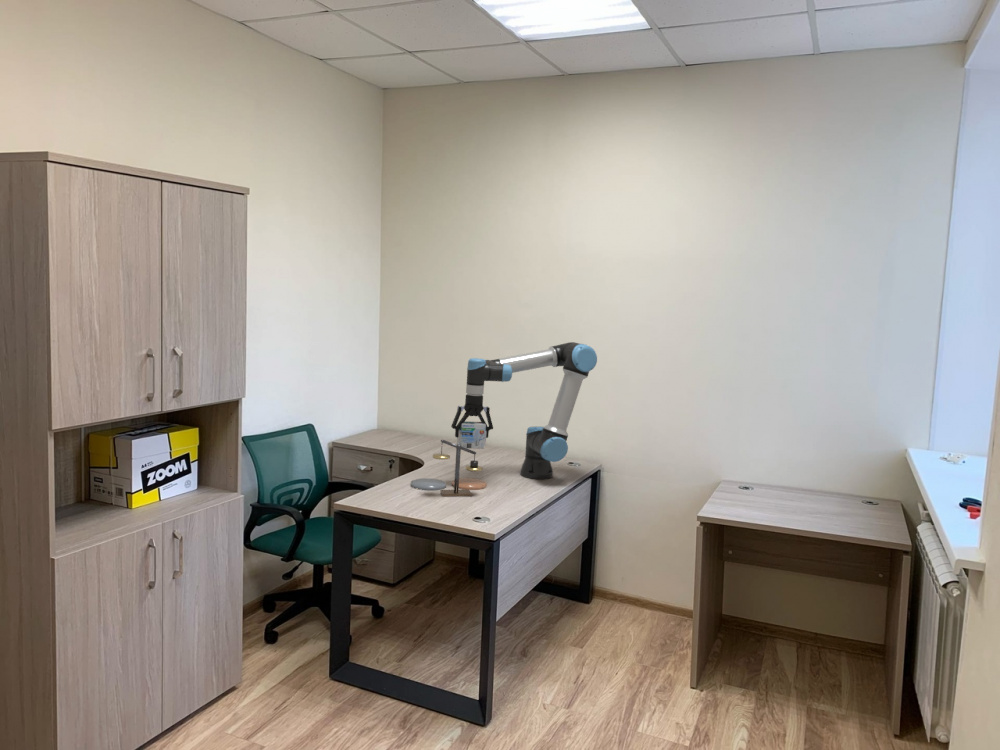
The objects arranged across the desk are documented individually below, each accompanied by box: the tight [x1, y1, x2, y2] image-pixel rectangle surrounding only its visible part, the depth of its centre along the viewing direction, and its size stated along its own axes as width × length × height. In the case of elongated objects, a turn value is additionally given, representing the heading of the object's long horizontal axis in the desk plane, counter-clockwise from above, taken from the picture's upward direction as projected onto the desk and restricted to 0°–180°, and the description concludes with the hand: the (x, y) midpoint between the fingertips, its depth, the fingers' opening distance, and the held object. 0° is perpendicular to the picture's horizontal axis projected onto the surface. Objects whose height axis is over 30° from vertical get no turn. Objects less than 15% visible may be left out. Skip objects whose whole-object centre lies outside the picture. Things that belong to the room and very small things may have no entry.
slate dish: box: [410, 477, 447, 491], centre depth 328 cm, size 15×15×1 cm
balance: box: [432, 439, 483, 498], centre depth 316 cm, size 21×7×23 cm, turn 106°
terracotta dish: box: [451, 477, 488, 491], centre depth 333 cm, size 15×15×1 cm
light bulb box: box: [460, 420, 487, 450], centre depth 331 cm, size 11×7×11 cm, turn 106°
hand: (471, 445), depth 331 cm, fingers closed on light bulb box, 11 cm apart
